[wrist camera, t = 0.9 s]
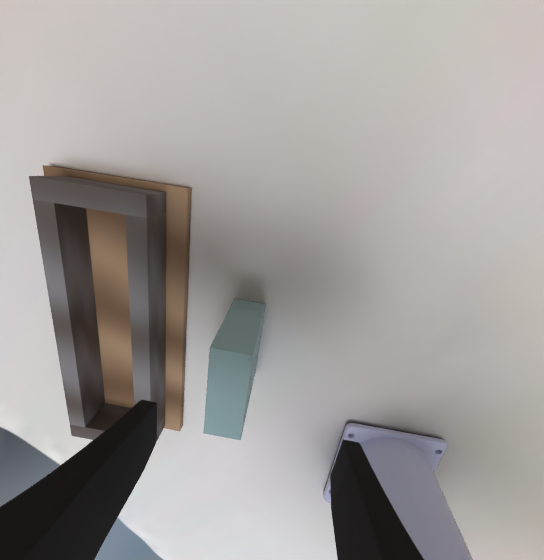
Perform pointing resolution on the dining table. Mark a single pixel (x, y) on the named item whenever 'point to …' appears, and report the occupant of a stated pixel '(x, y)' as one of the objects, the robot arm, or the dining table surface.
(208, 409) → the door panel
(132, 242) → the floor track
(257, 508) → the dining table surface
